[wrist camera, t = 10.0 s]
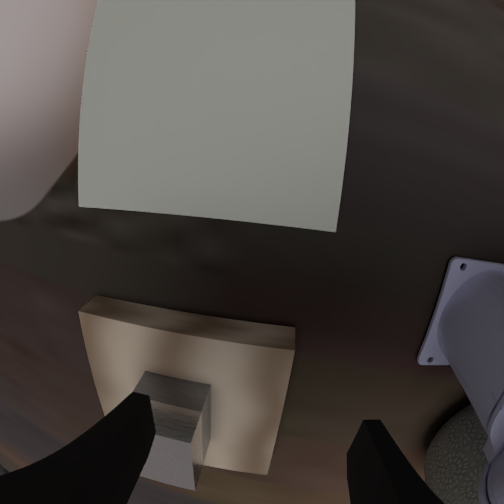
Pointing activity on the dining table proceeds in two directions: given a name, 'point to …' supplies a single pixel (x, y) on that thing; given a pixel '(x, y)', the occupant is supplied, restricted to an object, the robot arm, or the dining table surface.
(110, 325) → the stand
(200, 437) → the block
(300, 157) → the stand
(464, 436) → the planter
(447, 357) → the robot arm
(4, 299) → the dining table surface
